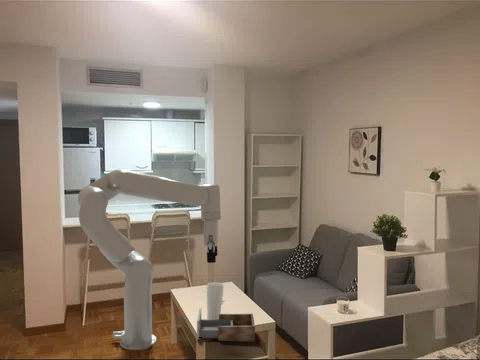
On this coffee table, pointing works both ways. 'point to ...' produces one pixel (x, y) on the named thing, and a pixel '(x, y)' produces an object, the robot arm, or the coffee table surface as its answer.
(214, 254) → the robot arm
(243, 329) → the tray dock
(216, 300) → the drinking glass
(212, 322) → the tray
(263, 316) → the coffee table surface
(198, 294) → the coffee table surface
